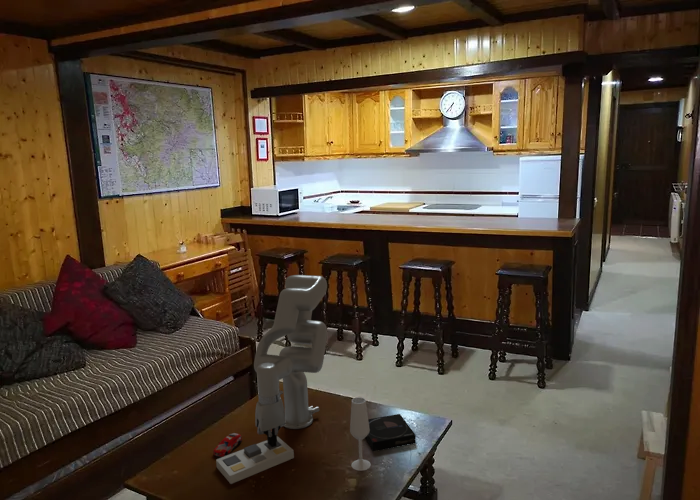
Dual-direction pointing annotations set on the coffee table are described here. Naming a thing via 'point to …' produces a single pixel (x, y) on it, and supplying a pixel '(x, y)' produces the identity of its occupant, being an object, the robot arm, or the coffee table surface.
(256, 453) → the button mid
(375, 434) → the portable cd player
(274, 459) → the button board
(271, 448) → the button
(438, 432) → the coffee table surface
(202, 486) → the coffee table surface
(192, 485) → the coffee table surface
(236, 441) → the race car
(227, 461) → the button
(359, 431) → the champagne flute
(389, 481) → the coffee table surface
